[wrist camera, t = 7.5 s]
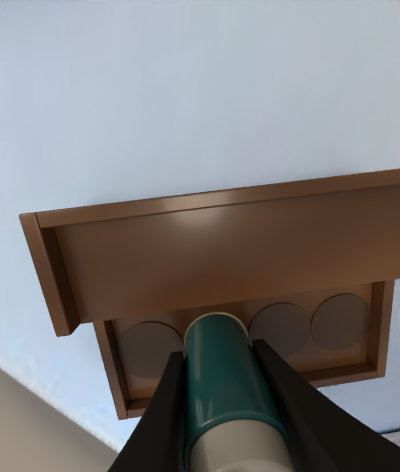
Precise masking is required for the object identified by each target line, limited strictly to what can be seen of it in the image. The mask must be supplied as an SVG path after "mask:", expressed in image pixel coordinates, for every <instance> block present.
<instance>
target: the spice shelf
mask: <svg viewBox="0 0 400 472" xmlns="http://www.w3.org/2000/svg"><path fill="white" fill-rule="evenodd" d="M19 219H20V222H21V225H22V228H23V231H24V235H25V238H26V241H27V244H28V247H29V250H30V254H31V257H32V260H33V263H34V266H35V269H36V273H37V276H38V279H39V282H40V285H41V289H42V292H43V295H44V298H45V301H46V304H47V308H48V311H49V314H50V317H51V320H52V323H53V327H54V330H55V333H56V336H57V337H60V336H67V335H71V334H72V333H73V332H74V331H75V329H76V328H77V327H78V326H79V325H80V323H81V324H83V323H90V322H93V325H94V329H95V333H96V337H97V340H98V344H99V348H100V352H101V356H102V359H103V363H104V367H105V371H106V374H107V378H108V382H109V386H110V390H111V393H112V397H113V401H114V405H115V408H116V412H117V416H118V420H123V419H128V418H134V417H141V416H142V415H143V414H144V412H145V410H146V408H147V406H148V404H149V402H150V400H151V398H152V396H153V394H154V392H155V390H156V387H157V385H158V383H159V381H160V379H161V376H162V374H163V371H164V369H165V367H166V364H167V361H168V358H169V355H170V354H171V352H177V351H183V356H184V346H185V336H186V334H187V331H188V330H189V328H190V327H191V325H192V324H193V323H194V322H196V321H197V320H198V319H200V318H202V317H204V316H207V315H211V314H224V315H228V316H230V317H233V318H234V319H236V320H237V321H238V322H239V323H240V324H241V325H242V326H243V328H244V330H245V332H246V335H247V337H248V339H249V342H250V344H251V346H252V340H256V339H262V338H263V339H264V340H265V341H266V342H267V343H268V344H269V345H270V346H271V347H272V348H273V349H274V350H275V351H276V352H277V353H278V354H279V355H280V356H281V357H282V358H283V359H284V360H285V361H286V362H287V363H288V364H289V365H290V366H291V367H292V368H293V369H294V370H295V371H296V372H297V373H298V374H300V375H301V376H302V377H303V378H304V379H305V380H306V381H307V382H309V383H310V384H311V385H312V386H313V387H314V388H320V387H326V386H332V385H338V384H344V383H351V382H357V381H363V380H369V379H375V378H381V377H385V371H386V361H387V351H388V341H389V332H390V322H391V312H392V302H393V292H394V282H395V279H400V169H392V170H383V171H375V172H367V173H358V174H350V175H342V176H333V177H325V178H317V179H308V180H300V181H292V182H283V183H275V184H267V185H258V186H250V187H242V188H233V189H225V190H217V191H208V192H200V193H192V194H183V195H175V196H167V197H158V198H150V199H142V200H133V201H125V202H117V203H108V204H100V205H92V206H83V207H75V208H66V209H58V210H50V211H41V212H33V213H25V214H20V215H19ZM252 349H253V348H252Z"/></svg>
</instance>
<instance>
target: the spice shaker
mask: <svg viewBox="0 0 400 472" xmlns="http://www.w3.org/2000/svg"><path fill="white" fill-rule="evenodd" d="M182 461H183V466H184V470H185V472H298V471H297V469H296V466H295V464H294V461H293V459H292V456H291V440H290V436H289V433H288V431H287V429H286V426H285V424H284V422H283V419H282V417H281V415H280V412H279V410H278V407H277V405H276V403H275V400H274V398H273V396H272V393H271V391H270V389H269V386H268V384H267V382H266V379H265V377H264V375H263V372H262V370H261V368H260V365H259V363H258V360H257V358H256V356H255V353H254V351H253V349H252V346H251V344H250V342H249V339H248V337H247V335H246V332H245V330H244V328H243V326H242V325H241V324H240V323H239V322H238V321H237V320H236V319H234V318H233V317H230V316H228V315H224V314H211V315H207V316H204V317H202V318H200V319H198V320H197V321H196V322H194V323H193V324H192V325H191V327H190V328H189V330H188V331H187V334H186V336H185V346H184V396H183V447H182Z"/></svg>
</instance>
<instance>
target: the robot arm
mask: <svg viewBox="0 0 400 472" xmlns="http://www.w3.org/2000/svg"><path fill="white" fill-rule="evenodd" d="M252 348H253V351H254V353H255V356H256V358H257V360H258V363H259V365H260V368H261V370H262V372H263V375H264V377H265V379H266V382H267V384H268V386H269V389H270V391H271V393H272V396H273V398H274V400H275V403H276V405H277V407H278V410H279V412H280V415H281V417H282V419H283V422H284V424H285V426H286V429H287V431H288V433H289V436H290V440H291V456H292V459H293V461H294V464H295V466H296V469H297V471H298V472H400V431H399V432H393V433H388V434H382V435H380V434H378V433H377V432H375V431H374V430H372V429H371V428H369V427H368V426H366V425H365V424H363V423H362V422H360V421H359V420H357V419H356V418H354V417H353V416H351V415H350V414H348V413H347V412H346V411H344V410H343V409H341V408H340V407H339V406H337V405H336V404H335V403H333V402H332V401H331V400H329V399H328V398H327V397H326V396H324V395H323V394H322V393H321V392H319V391H318V390H317V389H316V388H314V387H313V386H312V385H311V384H310V383H309V382H307V381H306V380H305V379H304V378H303V377H302V376H301V375H300V374H298V373H297V372H296V371H295V370H294V369H293V368H292V367H291V366H290V365H289V364H288V363H287V362H286V361H285V360H284V359H283V358H282V357H281V356H280V355H279V354H278V353H277V352H276V351H275V350H274V349H273V348H272V347H271V346H270V345H269V344H268V343H267V342H266V341H265V340H264V339H263V338H262V339H256V340H252ZM183 396H184V356H183V351H177V352H171V354H170V355H169V358H168V361H167V364H166V367H165V369H164V371H163V374H162V376H161V379H160V381H159V383H158V385H157V387H156V390H155V392H154V394H153V396H152V398H151V400H150V402H149V404H148V406H147V408H146V410H145V412H144V414H143V415H142V417H141V419H140V421H139V423H138V424H137V426H136V428H135V429H134V431H133V433H132V434H131V436H130V438H129V439H128V441H127V443H126V444H125V446H124V447H123V449H122V450H121V452H120V454H119V455H118V457H117V458H116V460H115V461H114V463H113V464H112V466H111V467H110V469H109V470H108V471H107V472H185V470H184V466H183V461H182V447H183Z"/></svg>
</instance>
